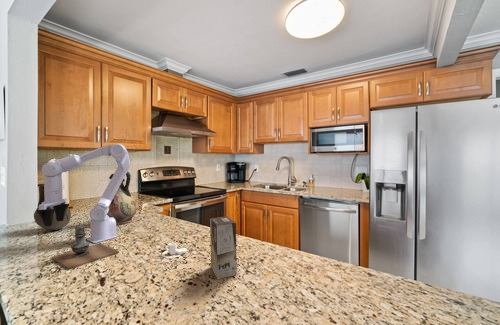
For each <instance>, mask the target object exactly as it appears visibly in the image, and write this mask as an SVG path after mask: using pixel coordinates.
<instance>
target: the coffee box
mask: <svg viewBox="0 0 500 325" xmlns="http://www.w3.org/2000/svg"><path fill="white" fill-rule="evenodd" d="M209 232H210V233H209V234H210V235H209V236H210V237H209V238H210V267H211V270H212V271H213V273H214V275H215V277H216V279H217V280H220V279H223V278H229V277H233V276H237V272H238V267H237V264H238V262H237V261H238V260H237V222H235V221H234V220H233V219H231V218H230V217H229V216H218V217H213V218H211V217H210V218H209Z"/></svg>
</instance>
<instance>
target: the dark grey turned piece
mask: <svg viewBox="0 0 500 325" xmlns="http://www.w3.org/2000/svg"><path fill="white" fill-rule="evenodd" d="M74 228H75V229H74V233H75V234H74V235H73V236H74V238H75V239H74V243H73V244H72V245H70V249H71V251H73V252H75V253H74V254H73V255H72V257H82V256H85V255H87V254H89V252H88V251H86V250H87V249H88V247H89V246H90V245H91V243H90V241H86V240H87V239H86V235H87V233H86V230H85V228H86V227H85V225H84V224H81V222H79V223H78V225H76V226H75V227H74Z"/></svg>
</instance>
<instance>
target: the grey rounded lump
mask: <svg viewBox="0 0 500 325" xmlns="http://www.w3.org/2000/svg"><path fill="white" fill-rule="evenodd" d="M50 208H51V209H54V208H53V207H50ZM38 209H39V206H38V207H37V208H36V209H35V211H34V212H33V218H34V222H35V223H36V224H37V226H39V227H41V228H42V229H44V230H48V231H58V230H60V229H62V228H64V227H66V226H67V225H68V224H69V223H70V221H71V218H72V217H71V216H72V212H71V209H70V208H69V206H68V208H67V210H66V212H65V216H64V220H63V221H57V220H56V214H55V212H54V214H53V221H52V226H45V225H44V223H43V220H42V218H41V216H40V215H39V214H38V213H37V210H38Z"/></svg>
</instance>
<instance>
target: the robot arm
mask: <svg viewBox="0 0 500 325" xmlns="http://www.w3.org/2000/svg"><path fill="white" fill-rule="evenodd" d="M103 156H106V157H111V156H112V158H114V160H115V162H116V164H117V167H116V170H115V171H114V173H113V174H114V175H113V177H112V178H111V179H109V183H108V184H107V186H106V188H105V190H104V192H103V193H102V195H101V197H100V199H99V200H98V202H97V203H96V204H95V206H94V207H93V208H91V209H90V212H89V217H90V223H89V226H90V230H89V231H90V237H89V238H87V239H86V240H87V242H89V243H90V242H91V243H93V244H98V243H101V242H104V241H107V240H112V239H115V238H117V237H118V236H117V224H116V221H115V219H114V218H113V217H111V218H109V216H108V215H107V213H108V212H109V205H110V203H111V201H112V199H113V197H114V196H115V194H116V192H117V190H118V188H119V186H120V184H121V183H122V181H123V179H125V177H126V173H127V171H128V172H129V169H130V167H131V161H130V156H129V152H128V150H127V148H126V147H125V146H124V145H123V144H121V143H113V144H109V145H105V146H102V147H99V148H95V149H94V150H91V151H89V152H85V153H83V154H80V155H77V154H70V153H69V154H67V156H66V157H63V158H59V159H57V158H56V159H55V160H54V162H53V161H49V162H47V163H44V164H43V165H42V167H41V173H42V174H43V187H44V189H43V192H44V201H42V202H41V204H38V207H39V209H38V210H37V213H38V214H39V215H40V216H41V218H42V220H43V223H44V225H45V226H52V221H53V214H54V212H55V214H56V220H57V221H63V220H64V216H65V212H66V210H67V208H68V207H69V206H70V203H68V199H67V198H63V197H64V196H63V178H62V177H63V176H62V174H63V173H68V172H70V171H72V170H75V169H78V168H80V167H82V165H83V163H85V162H89V161H92V160H94V159H97V158H100V157H103ZM50 207H53V208H54V209H51V208H50Z"/></svg>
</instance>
